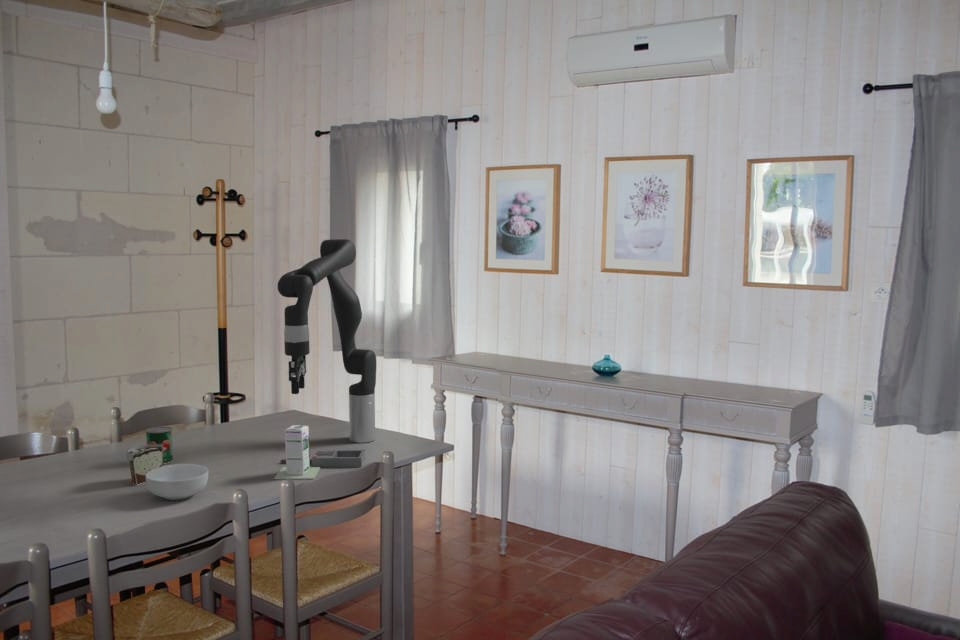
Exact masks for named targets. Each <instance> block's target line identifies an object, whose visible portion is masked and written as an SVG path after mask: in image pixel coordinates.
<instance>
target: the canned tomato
mask: <svg viewBox="0 0 960 640" xmlns="http://www.w3.org/2000/svg"><path fill="white" fill-rule="evenodd" d="M172 433H173V432H172V427H170V426H154V427H149V428H147V429H146V430H145V437H146V441H145V442H146V445H163V447H164V450H165V451H163V464H164V463H168V462H171V461H172V460H173V461H174V458H173V456H174V455H173V436H172V435H173V434H172ZM173 461H172V462H173ZM172 462H171V463H172ZM168 464H169V463H168ZM164 465H165V464H164Z"/></svg>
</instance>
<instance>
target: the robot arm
mask: <svg viewBox="0 0 960 640" xmlns="http://www.w3.org/2000/svg"><path fill="white" fill-rule="evenodd" d="M319 253H320V254H319V255H320V257H318V258H315V259H312V260H310V261H309V262H307V263H305V264H304V265H303V266H302V267H300V268H297V269H294V270H291V271H289V272H287V273H284V274H283V275H282V276H280V278H279V279H278V281H277V291H278V294H280V295H281V296H282V297H284V298H289V299H290V298H291V299H292V298H295V299H296V298H297V300H296V303H295V304H291V305H288V306H285V308H284V314H283V315H284V330H283V333H284V334H283V336H284V337H283V339H284V340H283V341H284V342H283V343H284V345H283V346H284V354H285V355H286V356H289V357H291V359H290V361H288V381H289V382H290V384H291V385H290V389H291V390H290V393H291V394H292V395H298V394H299V393H300V389H305V386H306V385H305V382H306V381H305V376H306V374H307V359H306V358H307V357H306V356H308V355H309V354H310V351H311V350H310V329H309V315H308V314H309V313H308V311H309V307H310V303H311V299H312V295H313V290H314V287H315V286H317V284H319V283H320V282H322V281H323V279H325V278H326V280H327V283H328V286H329V291H330V295H331V300H332V307H333V309H334V310H333V311H334V316H335V319H336V324H337V327H338V333H339V338H340V344H341V345H340V346H341V354H342V362H343V367H344V370H345V372H346V373H348V374H349V375H358V376H360V377H361V378H360V380H359V382H355V383H353V384H351V385H349V388H348V410H349V411H348V412H349V413H348V415H349V419H348V420H349V441H350V442H352V443H357V444H358V443H369V442H373V441H375V440H376V402H375V401H376V395H375V392H376V384H377V382H376V381H377V356H376V355H377V354H376V353H375V352H374V351H373V349H363V348H359V349H358V348H357V346H356V343H355V337H356V333H357V330H358V328H359V326H360V324H361V321H362V318H363V312H362V308H361V302H360V299H359V298H360V297H359V296H358V295H357V293H356V291H355V290H354V289H353V288H352V287H351V286H350V285H349V283H348V282H347V281H346V280H345V279H344V276H343V275H342V273H341V271H340V270H342V269H344V268H347V267H349V266H351V265H353V263H354V261H355V260H356V255H357V250H356V246H355V244H354V242H353V241H352V240H350V239H346V238H345V239H344V238H341V239H340V238H339V239H324V240H323V241H321V243H320V247H319Z"/></svg>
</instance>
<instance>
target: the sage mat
mask: <svg viewBox="0 0 960 640" xmlns="http://www.w3.org/2000/svg"><path fill="white" fill-rule="evenodd" d="M320 470H321V467H312V466H310V470H309V471H308V472H306V473H305V474H304V475H290V474H287V471H286V466H282V467H281V469H280V470H279V471H278V473H277V474H276V475H275V476H274V478H273V480H274V479H281V480H282V479H284V480H286V479H285V478H291V479H290V480H314V479H315V477H316V476H317V474H318V473H319V471H320ZM282 481H283V480H282Z"/></svg>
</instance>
